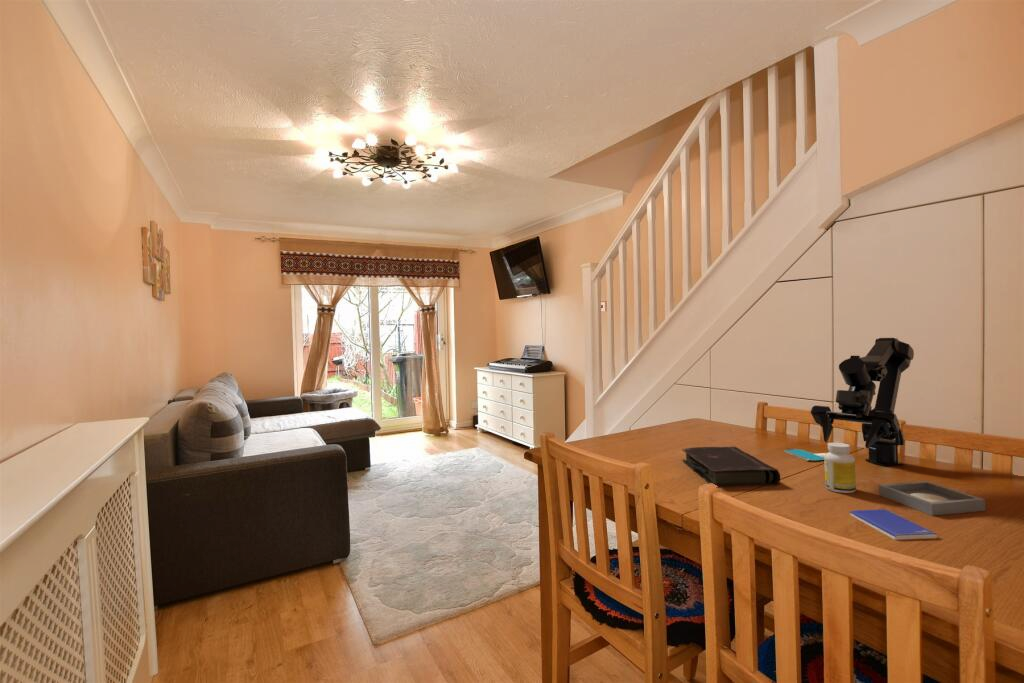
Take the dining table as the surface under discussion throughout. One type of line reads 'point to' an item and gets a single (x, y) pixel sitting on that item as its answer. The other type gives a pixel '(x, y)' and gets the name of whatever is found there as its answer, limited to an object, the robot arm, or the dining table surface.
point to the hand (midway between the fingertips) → (845, 444)
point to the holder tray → (932, 498)
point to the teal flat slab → (805, 455)
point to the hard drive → (892, 524)
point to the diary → (730, 467)
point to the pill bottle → (839, 468)
